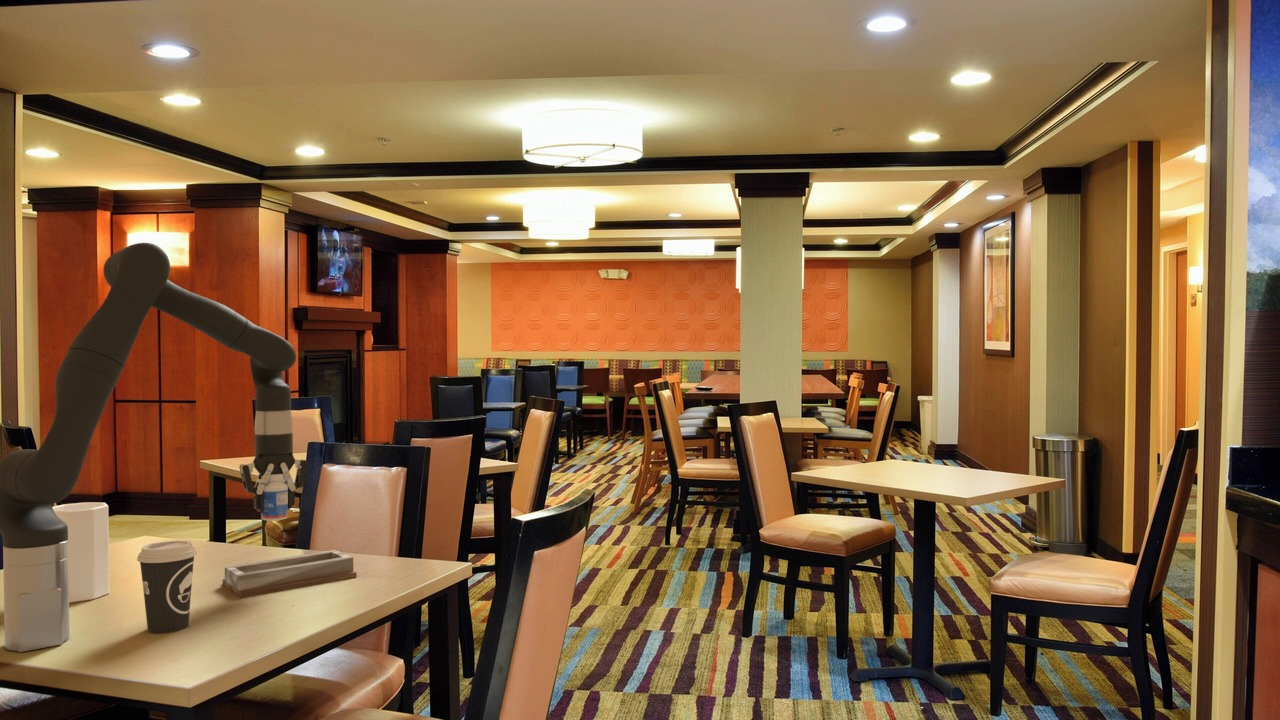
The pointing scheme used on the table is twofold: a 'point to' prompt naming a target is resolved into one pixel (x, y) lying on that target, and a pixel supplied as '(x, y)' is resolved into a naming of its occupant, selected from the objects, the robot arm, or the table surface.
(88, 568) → the cup
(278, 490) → the pill bottle
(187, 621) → the coffee cup
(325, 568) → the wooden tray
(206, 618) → the table surface
